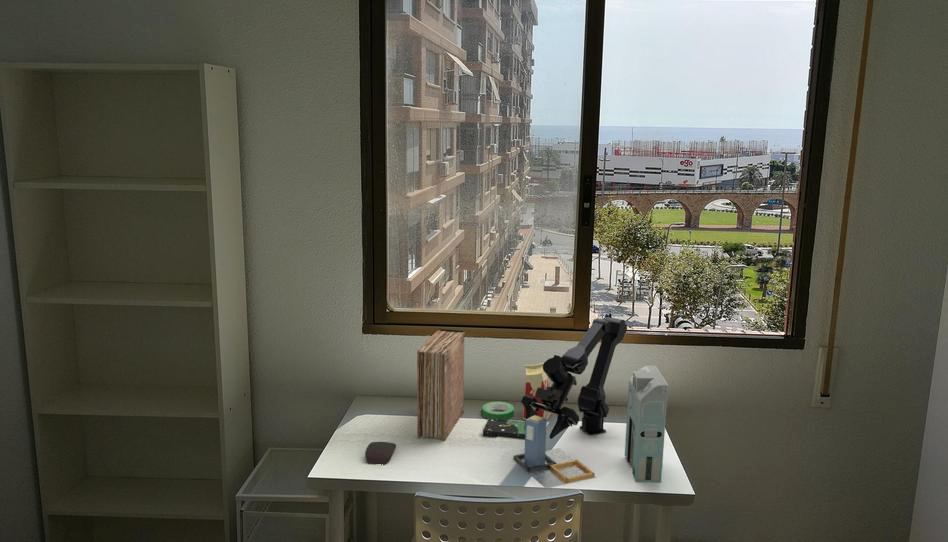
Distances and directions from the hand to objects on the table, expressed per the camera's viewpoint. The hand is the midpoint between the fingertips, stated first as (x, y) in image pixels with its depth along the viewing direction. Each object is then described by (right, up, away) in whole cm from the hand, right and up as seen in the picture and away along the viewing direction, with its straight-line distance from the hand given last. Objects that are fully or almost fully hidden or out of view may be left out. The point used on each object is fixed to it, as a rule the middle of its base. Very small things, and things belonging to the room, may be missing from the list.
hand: (537, 434), depth 236 cm
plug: (-1, -9, +1) cm, 9 cm away
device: (+31, -11, -1) cm, 33 cm away
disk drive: (-8, -5, +24) cm, 26 cm away
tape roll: (-11, -2, +39) cm, 40 cm away
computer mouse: (-48, -8, +6) cm, 49 cm away
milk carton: (+2, -2, +37) cm, 37 cm away
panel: (+4, -10, -2) cm, 11 cm away
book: (-30, -3, +29) cm, 42 cm away
